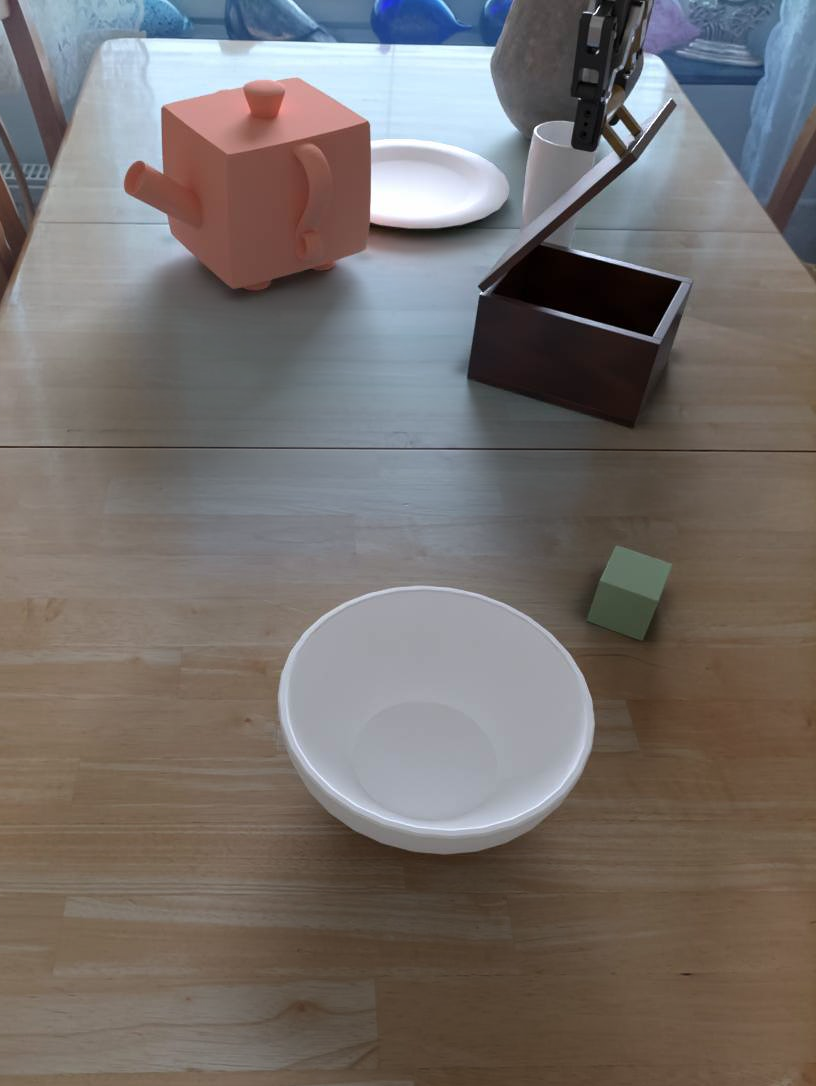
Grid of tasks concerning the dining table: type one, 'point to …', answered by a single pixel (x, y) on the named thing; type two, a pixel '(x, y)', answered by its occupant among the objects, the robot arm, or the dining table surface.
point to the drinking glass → (553, 175)
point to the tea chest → (578, 331)
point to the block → (629, 592)
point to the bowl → (435, 718)
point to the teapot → (262, 180)
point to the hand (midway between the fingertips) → (595, 134)
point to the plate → (432, 186)
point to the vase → (541, 62)
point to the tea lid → (586, 181)
